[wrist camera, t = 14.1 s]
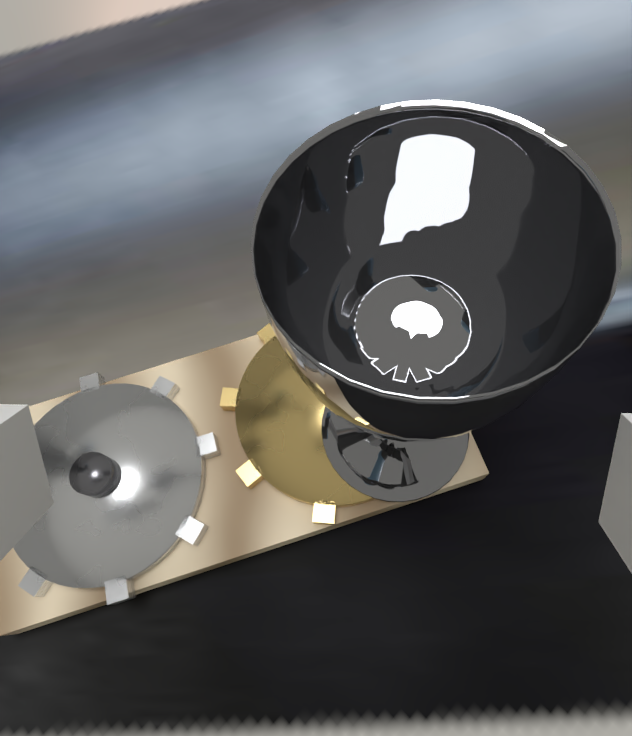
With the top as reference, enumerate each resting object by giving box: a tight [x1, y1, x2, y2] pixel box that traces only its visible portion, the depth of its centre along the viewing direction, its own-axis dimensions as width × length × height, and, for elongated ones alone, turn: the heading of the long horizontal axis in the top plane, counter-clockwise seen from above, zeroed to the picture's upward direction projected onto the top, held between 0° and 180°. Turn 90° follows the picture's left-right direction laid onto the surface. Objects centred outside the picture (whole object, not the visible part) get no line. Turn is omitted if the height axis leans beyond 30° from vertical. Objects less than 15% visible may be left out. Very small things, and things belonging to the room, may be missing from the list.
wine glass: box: [251, 100, 621, 502], centre depth 18 cm, size 8×8×15 cm
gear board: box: [0, 323, 489, 636], centre depth 26 cm, size 24×12×4 cm, turn 107°
